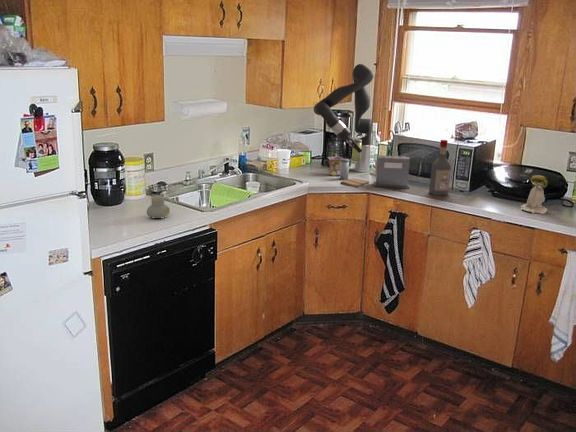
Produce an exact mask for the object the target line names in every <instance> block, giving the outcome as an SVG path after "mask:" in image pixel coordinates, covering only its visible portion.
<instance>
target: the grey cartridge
mask: <svg viewBox="0 0 576 432" xmlns="http://www.w3.org/2000/svg"><path fill="white" fill-rule="evenodd" d="M349 169H350V159H349V158H343V159H341V167H340V175H339V180H342V181H345V180H348V179H349V171H350V170H349Z"/></svg>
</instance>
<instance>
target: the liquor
mask: <svg viewBox="0 0 576 432" xmlns="http://www.w3.org/2000/svg"><path fill="white" fill-rule="evenodd" d="M439 145H440V146H439V154H438V158H437V157H436V159H435V160H434V161H433V162H432V164H431V170H430V177H429V179H430V180H429V187H428V192H429V193H430V194H431V195H432V196H433V195H434V196H447V195H448V194H449V192H450V191H449V190H450V181H451V172H452V164H451V163H450V161H449V160H448V159H447V147H448V139H447V140H446V139H441V140H440V144H439Z"/></svg>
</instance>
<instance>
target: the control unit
mask: <svg viewBox="0 0 576 432" xmlns="http://www.w3.org/2000/svg"><path fill="white" fill-rule="evenodd" d="M376 156H377V157H376V169H375V180H374V181H373V187H374V188H387V189H388V188H390V189H392V188H393V189H410V184H409V173H410V172H409V170H410V159H411V158H410V157H409V156H404V155H402V156H400V155H382V154H381V155H380V154H377V155H376Z"/></svg>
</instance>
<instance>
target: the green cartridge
mask: <svg viewBox="0 0 576 432" xmlns="http://www.w3.org/2000/svg"><path fill="white" fill-rule="evenodd" d="M353 140H354V141H355V142H356V144H357V145H358V147H359V148H360V149H361V145H362V140H361V139H359V138H353ZM353 146H355V144H354V145H353ZM360 160H361V152H360V153H359V152H358V151H357V150H356V149H354V148H353V147H352V153H351V161H352V162H355V161H360Z"/></svg>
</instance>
